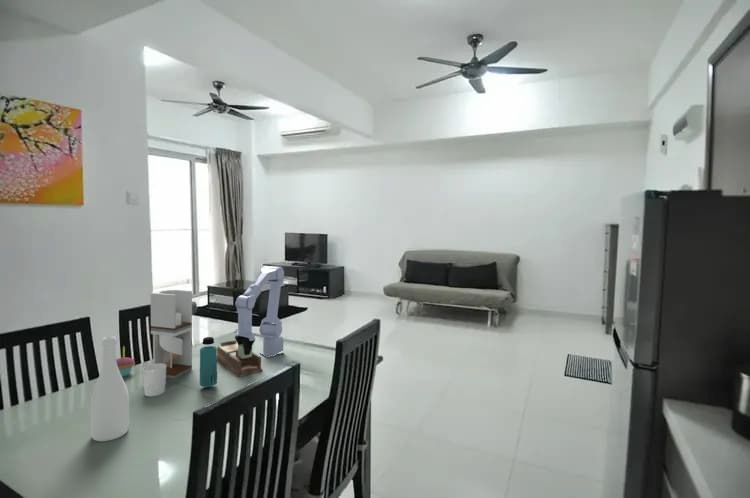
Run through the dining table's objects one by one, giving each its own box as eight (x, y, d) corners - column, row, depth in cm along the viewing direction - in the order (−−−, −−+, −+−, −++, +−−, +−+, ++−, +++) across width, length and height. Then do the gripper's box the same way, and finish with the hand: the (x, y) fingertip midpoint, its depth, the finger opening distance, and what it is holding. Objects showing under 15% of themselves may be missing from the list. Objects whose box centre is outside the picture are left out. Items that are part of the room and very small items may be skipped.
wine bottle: (122, 422, 126) (121, 331, 124) (133, 433, 120) (132, 337, 118) (87, 434, 118) (85, 337, 116) (97, 446, 112) (95, 344, 110)
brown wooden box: (238, 356, 190) (238, 343, 190) (262, 370, 173) (262, 356, 172) (215, 361, 183) (215, 347, 182) (238, 377, 165) (238, 362, 165)
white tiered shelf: (151, 375, 164) (150, 293, 162) (170, 366, 174) (169, 289, 172) (174, 378, 161) (173, 295, 159) (191, 369, 172) (192, 290, 169)
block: (247, 353, 176) (247, 343, 176) (252, 356, 173) (252, 345, 173) (237, 355, 173) (237, 344, 173) (242, 358, 170) (242, 347, 169)
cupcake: (113, 372, 166) (112, 344, 165) (136, 369, 170) (136, 342, 169) (109, 379, 158) (108, 350, 158) (133, 377, 162) (133, 348, 161)
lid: (238, 343, 189) (238, 339, 189) (248, 349, 181) (248, 344, 181) (217, 347, 182) (217, 343, 182) (227, 353, 174) (227, 348, 174)
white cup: (170, 389, 152) (170, 364, 151) (157, 398, 144) (157, 371, 143) (151, 387, 152) (151, 362, 152) (137, 396, 144) (137, 370, 144)
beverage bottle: (210, 391, 150) (211, 340, 149) (195, 389, 151) (195, 339, 150) (220, 385, 157) (221, 336, 155) (206, 383, 158) (206, 334, 157)
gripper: (229, 320, 174) (228, 350, 175) (243, 327, 164) (243, 359, 165) (244, 318, 179) (243, 347, 180) (259, 325, 169) (258, 355, 170)
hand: (244, 352), depth 173 cm, fingers closed on block, 4 cm apart
